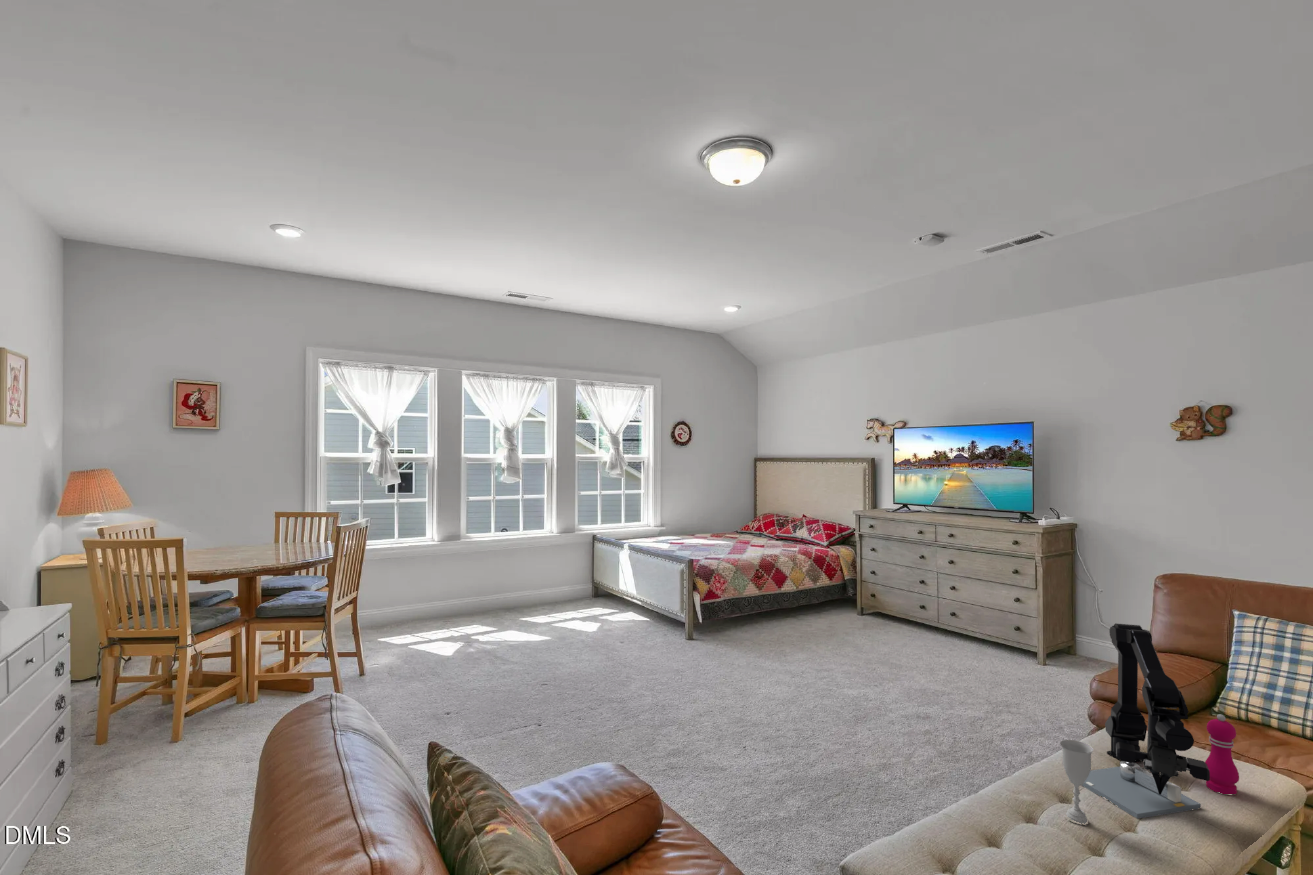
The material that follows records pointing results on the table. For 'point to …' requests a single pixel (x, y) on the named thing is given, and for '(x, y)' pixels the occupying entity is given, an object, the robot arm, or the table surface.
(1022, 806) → the table surface
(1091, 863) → the table surface
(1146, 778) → the lock lever
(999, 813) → the table surface
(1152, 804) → the mount board
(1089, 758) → the chalice
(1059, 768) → the table surface
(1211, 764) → the pepper mill
